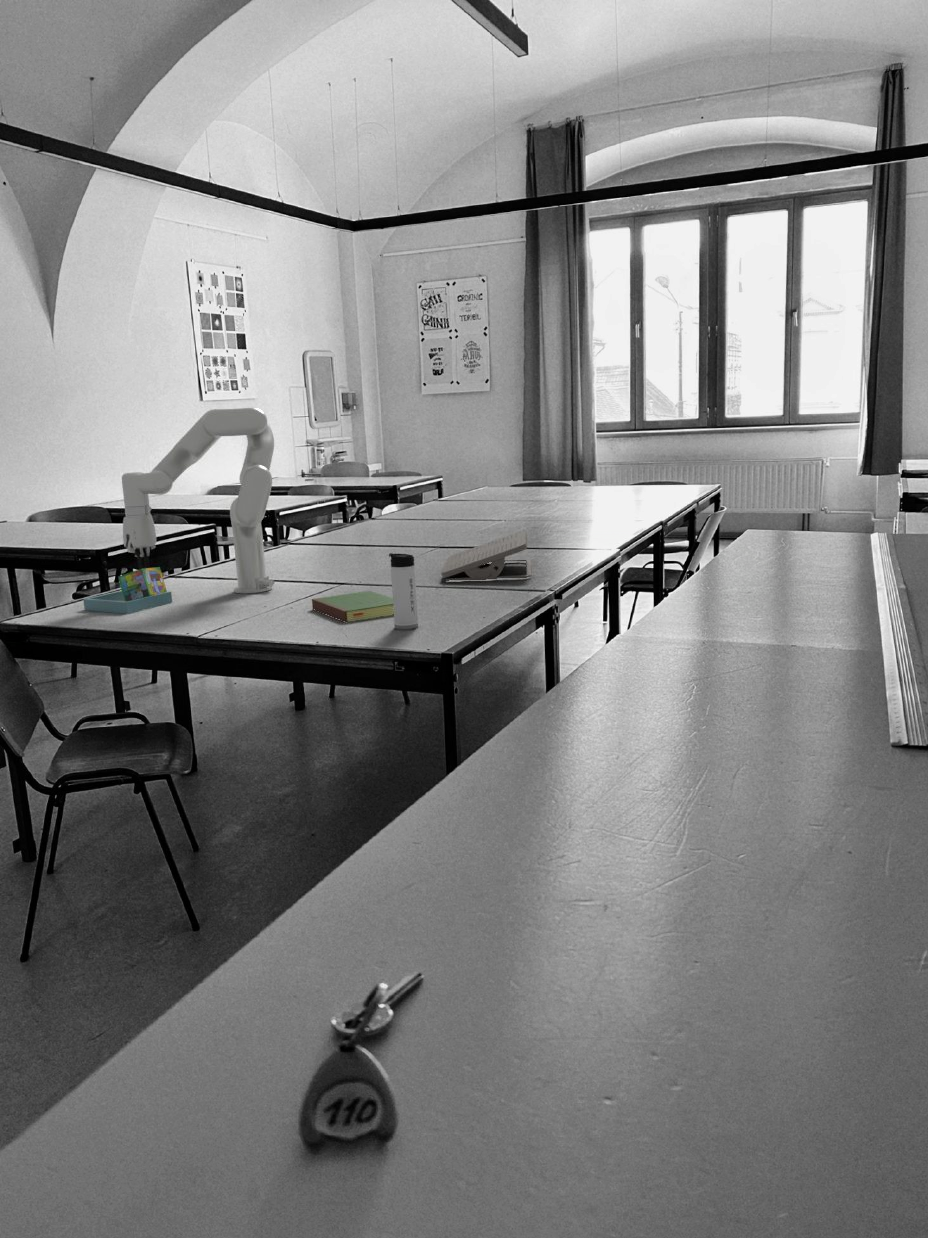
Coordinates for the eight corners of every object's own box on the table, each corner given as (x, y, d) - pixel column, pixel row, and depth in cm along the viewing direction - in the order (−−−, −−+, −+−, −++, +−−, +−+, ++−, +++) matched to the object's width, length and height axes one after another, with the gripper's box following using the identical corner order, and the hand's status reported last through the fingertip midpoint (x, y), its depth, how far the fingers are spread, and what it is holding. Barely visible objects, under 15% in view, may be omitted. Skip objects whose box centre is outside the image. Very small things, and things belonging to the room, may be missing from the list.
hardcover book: (312, 611, 294) (311, 599, 293) (370, 602, 303) (369, 590, 302) (347, 625, 272) (346, 611, 272) (407, 615, 282) (406, 602, 281)
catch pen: (172, 602, 317) (171, 591, 316) (128, 613, 301) (126, 602, 300) (129, 599, 326) (128, 588, 325) (84, 610, 311) (83, 599, 310)
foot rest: (449, 566, 365) (447, 532, 363) (530, 563, 363) (529, 529, 361) (440, 585, 327) (438, 547, 325) (531, 582, 325) (530, 543, 323)
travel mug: (393, 625, 266) (388, 552, 262) (417, 624, 267) (413, 550, 262) (393, 630, 260) (388, 555, 256) (418, 629, 261) (414, 554, 256)
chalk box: (160, 566, 320) (136, 567, 305) (168, 594, 320) (145, 596, 305) (135, 574, 322) (110, 576, 307) (143, 601, 322) (119, 604, 307)
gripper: (147, 509, 322) (153, 564, 326) (110, 514, 310) (117, 571, 314) (163, 509, 319) (169, 565, 323) (127, 514, 306) (134, 572, 310)
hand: (143, 568), depth 318 cm, fingers closed
